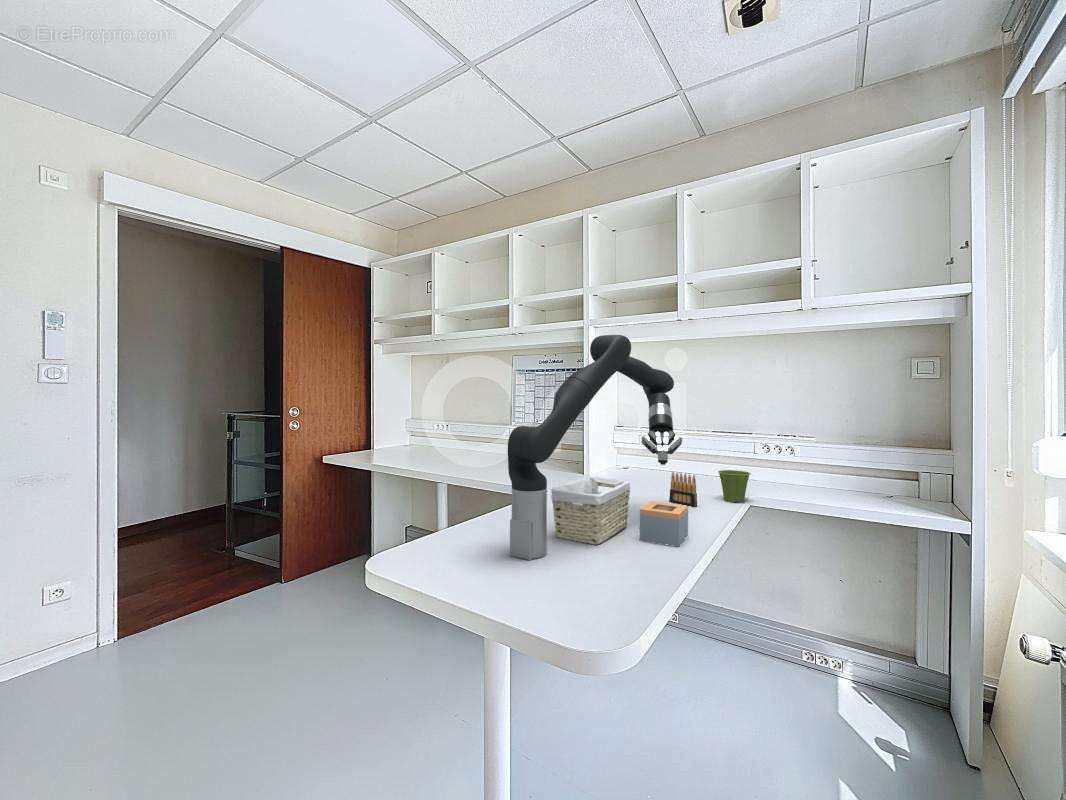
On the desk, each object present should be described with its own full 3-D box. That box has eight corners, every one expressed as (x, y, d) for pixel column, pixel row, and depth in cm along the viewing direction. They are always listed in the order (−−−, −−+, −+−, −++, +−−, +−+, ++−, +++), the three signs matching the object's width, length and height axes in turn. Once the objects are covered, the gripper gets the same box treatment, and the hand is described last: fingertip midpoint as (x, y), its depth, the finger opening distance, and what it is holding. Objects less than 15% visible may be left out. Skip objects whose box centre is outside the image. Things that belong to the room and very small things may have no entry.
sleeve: (678, 547, 129) (679, 514, 129) (639, 540, 135) (639, 509, 134) (687, 536, 138) (688, 506, 138) (650, 530, 144) (651, 501, 144)
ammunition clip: (669, 502, 181) (669, 471, 181) (671, 501, 182) (672, 470, 182) (694, 507, 173) (695, 475, 173) (697, 506, 174) (697, 474, 174)
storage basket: (598, 548, 128) (599, 494, 128) (548, 537, 137) (548, 487, 137) (632, 527, 148) (632, 480, 148) (586, 519, 157) (586, 475, 157)
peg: (668, 541, 134) (668, 509, 134) (654, 539, 136) (654, 508, 136) (672, 537, 137) (672, 506, 137) (658, 535, 139) (658, 505, 139)
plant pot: (752, 499, 186) (752, 471, 186) (748, 505, 176) (748, 475, 176) (720, 496, 192) (720, 468, 192) (714, 502, 182) (715, 472, 182)
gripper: (640, 412, 153) (641, 455, 142) (682, 412, 151) (687, 456, 139) (639, 427, 159) (640, 469, 147) (680, 428, 156) (684, 471, 144)
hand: (663, 463), depth 143 cm, fingers closed
